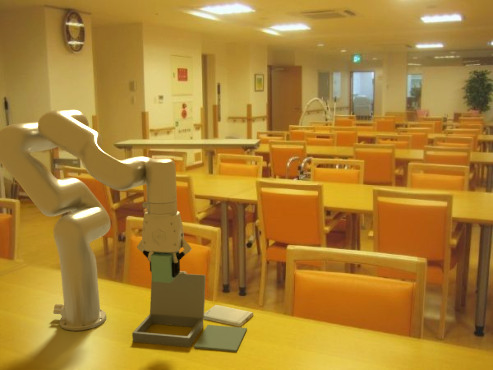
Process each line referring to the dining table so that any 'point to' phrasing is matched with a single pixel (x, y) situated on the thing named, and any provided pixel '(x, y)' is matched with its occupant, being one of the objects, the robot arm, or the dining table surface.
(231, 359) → the dining table surface
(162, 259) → the block
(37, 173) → the robot arm
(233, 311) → the hard drive
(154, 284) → the lid
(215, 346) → the mat
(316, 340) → the dining table surface
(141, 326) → the case
